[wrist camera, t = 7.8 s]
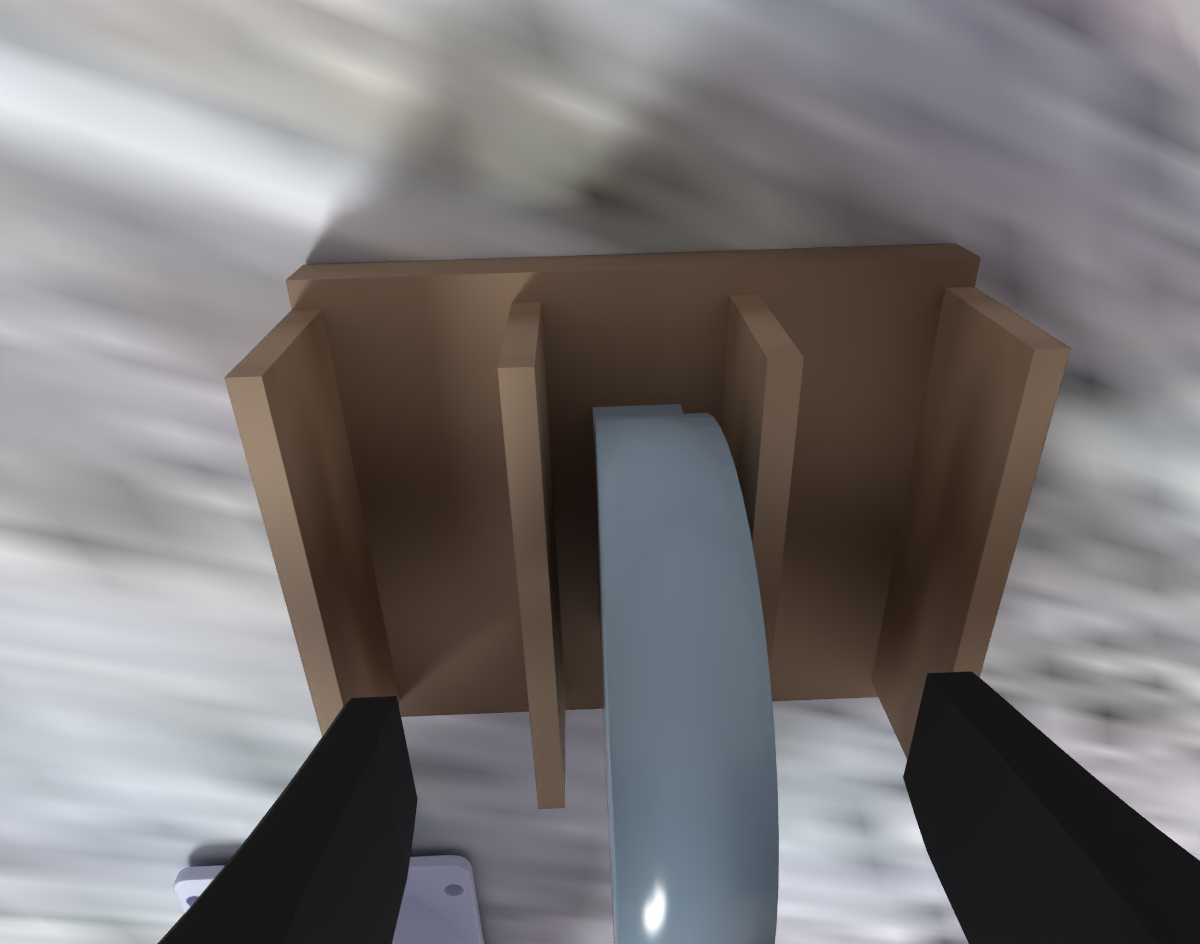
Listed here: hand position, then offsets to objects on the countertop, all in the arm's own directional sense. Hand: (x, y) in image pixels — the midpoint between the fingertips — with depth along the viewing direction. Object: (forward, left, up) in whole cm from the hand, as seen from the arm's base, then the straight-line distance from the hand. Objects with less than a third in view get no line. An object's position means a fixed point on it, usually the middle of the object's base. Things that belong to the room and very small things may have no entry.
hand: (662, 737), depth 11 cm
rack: (0, 0, -6) cm, 6 cm away
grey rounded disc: (0, 0, -5) cm, 5 cm away
